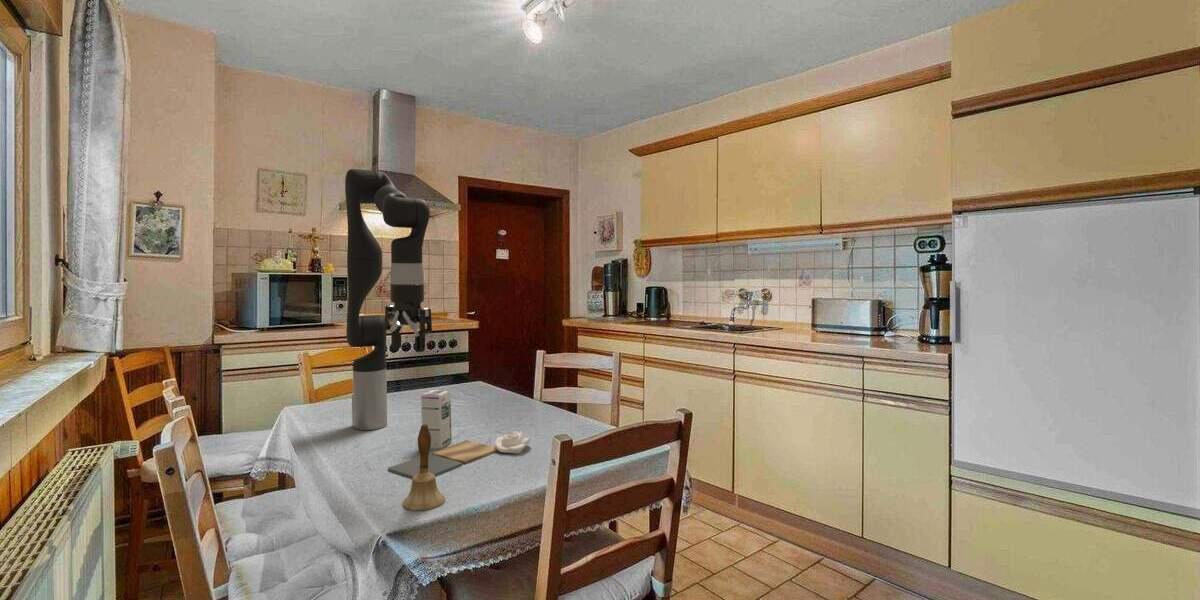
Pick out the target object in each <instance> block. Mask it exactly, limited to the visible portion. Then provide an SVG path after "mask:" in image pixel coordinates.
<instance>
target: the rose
mask: <svg viewBox="0 0 1200 600" xmlns="http://www.w3.org/2000/svg"><path fill="white" fill-rule="evenodd" d="M531 440H532V438H531V437H525V438H524V434H523V432H522V431H521V430H518V431H517V430H511V429H510V430H508V431H507V432H506V433H504V434H503V436H498V437H496V439H495V441H494V444H493V445H494V447H496V448H497V450H498V451H497V452H501V453H511V454H520V453H522V452H523V450H525V449H526V447H527V445H528V444H529V443H530V442H531Z"/></svg>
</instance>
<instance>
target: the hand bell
mask: <svg viewBox="0 0 1200 600" xmlns="http://www.w3.org/2000/svg"><path fill="white" fill-rule="evenodd" d="M430 446H431V435H430V432H429V429H428V425H422V424H421V425H420V429H419V432H418V437H417V448H418V452H419V457H420V472H419V473H418V474H417V475H415V476H414V477H413V478H411V479H412V481H411V487H410V490H409V493H408V495H407V496H406V497H405V498H404V500H403V501H402V507H403V508H404V509H406V510H410V511H429V510H432V509H436V508H438V507H440V506H442V505H443V504H444V503H445V502H446V498H445V496H444V494H443V493H441V492H440V489H439V488H438V485H437V481H436V476H435V475H434V474H432V473H429V472H428V467H429V466H428V454H430V450H431V448H430Z"/></svg>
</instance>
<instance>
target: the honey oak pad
mask: <svg viewBox="0 0 1200 600" xmlns="http://www.w3.org/2000/svg"><path fill="white" fill-rule="evenodd" d="M496 451H497V452H499V451H498V450H497V448H496V447H495V446H493V445H489V444H488V445H487V444H484V443H480V442H475V441H472V440H467V439H466V440H464V441H461V442H457V443H455V444H452V445H449V446H445V447H443V448H442V449H437V450H435V451H432V452H431V454H432V455H435V456H439V457H443V458H446V459H450V460H453V461H457V462H461V463H462V465H467V464H470V463H471V462H475V461H477V460H479V459H481V458H485V457H486V456H489V455H491V454H494V453H497V452H496Z"/></svg>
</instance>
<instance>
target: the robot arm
mask: <svg viewBox="0 0 1200 600" xmlns="http://www.w3.org/2000/svg"><path fill="white" fill-rule="evenodd" d="M344 186H345V187H344V188H345V189H344V191H345V203H346V205H345V206H346V207H345V208H346V218H347V246H346V248H347V250H346V252H347V253H346V265H347V266H346V267H347V270H346V271H347V288H348V289H347V291H348V292H347V313H346V329H345V330H346V333H345V334H346V341H347V343H348V346H350V347H351V348H367V347H369V348H370V347H373V350H372V351H369V353H367V354H365V355H363V356H360V357H358V358H356V359H354V360H353V362H352V385H353V386H352V391H353V393H352V395H351V415H352V416H351V417H352V420H351V421H352V422H351V423H352V425H351V426H353V428H354V429H355V430H358V431H359V430H360V431H368V430H369V431H372V430H379V429H382V428H384V427H386V426H387V425H388V393H387V392H388V390H387V389H388V388H387V386H388V385H387V382H388V380H387V333H388V332H387V331H389V333H390V334H391V335H390V336H391V338H390V339H391V340H390V341H391V349H393V350H394V349H395V350H397V349H401V348H402V333H401V332H402V330H403V328H404V327H405V326H408V327H409V328H410V329H411V330H412V331H413V333H414V335H415V336H414V351H415V352H416V353H424V352H425V349H426V336H427V335H429V334H432V333H433V326H432V325H433V324H432V309H431V308H430V307H422V306H421V304H422V303H423V302H424V301H425V289H424V288H425V281H424V280H425V275H424V274H425V273H424V272H425V271H424V266H423V245H424V240H425V237H426V236H425V235H426V231H427V227H428V225H429V221H430V217H431V212H430V207H429V204H428V203H427V201H425V199H422V198H415V197H414V198H413V197H408V196H407V195H406V194H404V193H403V192H402V191H401V190H400V189H397V188H396V187H395V185H394V183H393V182H392V181H391V179H390V177H389V176H388V175H387V174H386V173H385V172H382V171H380V170H373V169H371V170H370V169H359V168H355V169H354V168H350V169H348V170H347V172H346V175H345V181H344ZM361 204H365V205H366V204H367V205H375V206H376V208H377V210H378V211H379V212H380V213H382V219H383V221H384V223H385V224H386V225H387V226H389V227H392V228H404V229H411V231H410V233H409V235H407V236H405V237H404V236H403V237H398V238H395V239H392V241H391V243H390V262H391V263H390V264H391V266H390V272H389V273H390V274H389V276H390V277H389V279H390V283H389V284H390V285H389V287H390V302H391V303H393V305H386V306H385V307H384V309H385V310H384V316H383V315H380V314H375V315H374V314H373V315H369V314H368V315H360V312H361V309H362V306H363V304H364V302H365V300H366V298H367V296H369V294H370V292H371V291H372V289H373V288H374V287H375V286H376V284H377V283H378V281H379V280H380V278H381V276H382V272H383V250H382V248H381V245H380V243H379V242H378V240H377V238H376V237H375V236H374V234H373V233H372V232H371V230H370V229H369V227H368V225H367V223H366V222H365V219H364V216H363V214H362V210H361V209H362V208H361ZM390 321H391V322H390ZM390 323H391V324H390Z"/></svg>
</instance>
